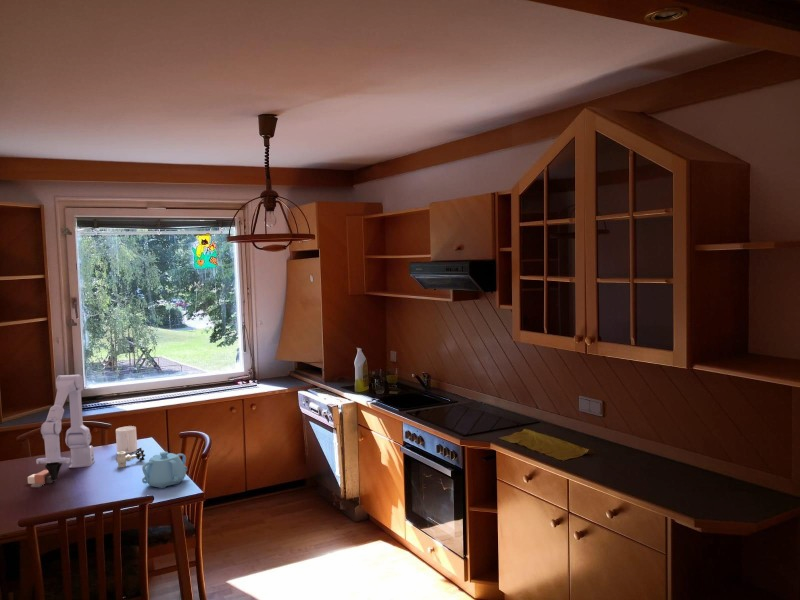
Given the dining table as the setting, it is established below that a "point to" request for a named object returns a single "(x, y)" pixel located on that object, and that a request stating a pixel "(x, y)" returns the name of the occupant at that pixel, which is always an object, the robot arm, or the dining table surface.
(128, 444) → the white cylinder
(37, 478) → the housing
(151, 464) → the decorative pot
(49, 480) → the plug
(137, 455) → the valve
